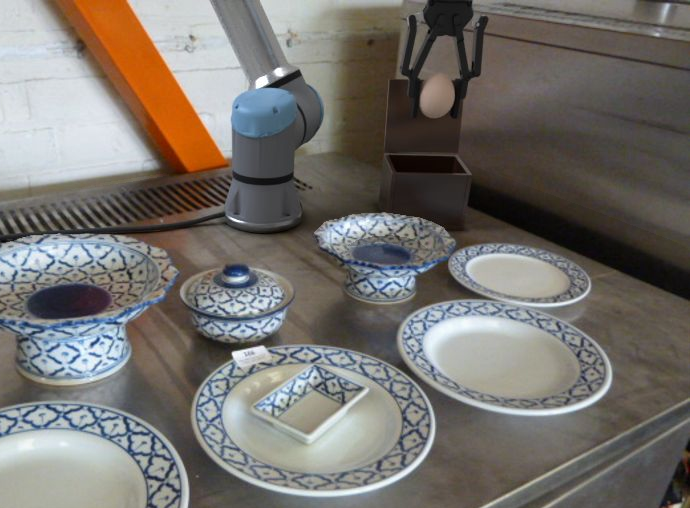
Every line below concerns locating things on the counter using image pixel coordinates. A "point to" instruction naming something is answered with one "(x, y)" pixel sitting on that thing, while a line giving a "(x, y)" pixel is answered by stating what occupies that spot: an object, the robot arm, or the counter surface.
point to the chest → (426, 188)
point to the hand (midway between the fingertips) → (433, 116)
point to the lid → (418, 125)
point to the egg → (436, 95)
